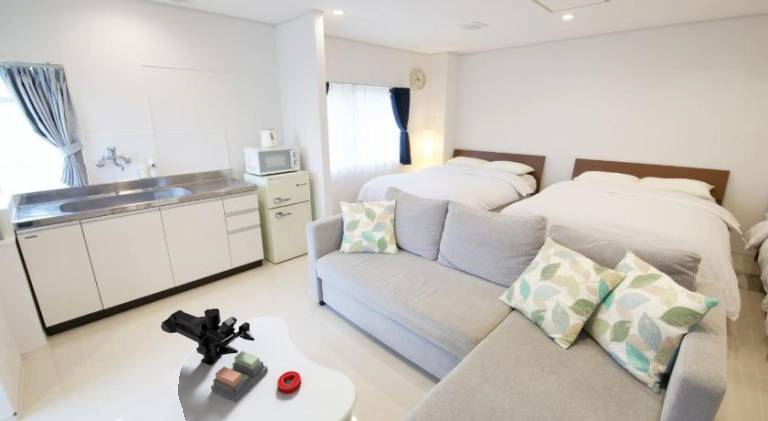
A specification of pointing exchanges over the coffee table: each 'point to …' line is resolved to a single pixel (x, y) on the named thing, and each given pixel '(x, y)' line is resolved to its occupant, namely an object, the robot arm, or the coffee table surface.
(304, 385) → the coffee table surface
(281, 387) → the decorative ornament
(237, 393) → the button panel
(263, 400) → the coffee table surface
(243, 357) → the sage button
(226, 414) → the coffee table surface
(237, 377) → the orange brown block
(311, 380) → the coffee table surface
